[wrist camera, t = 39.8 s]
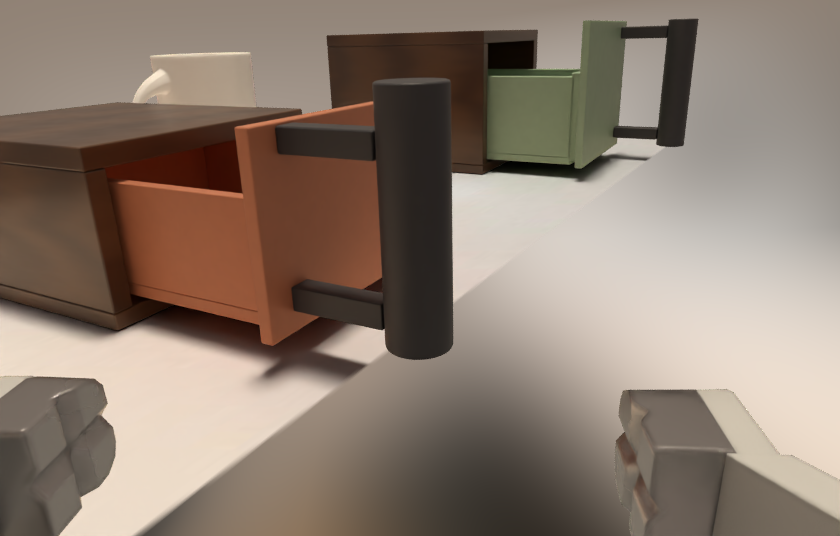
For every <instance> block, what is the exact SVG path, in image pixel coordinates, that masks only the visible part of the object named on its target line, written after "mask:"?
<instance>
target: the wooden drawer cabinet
mask: <svg viewBox="0 0 840 536" xmlns="http://www.w3.org/2000/svg"><path fill="white" fill-rule="evenodd" d="M537 34H538V30H498V31H458V32H425V33H393V34H360V35H330V36H329V35H327V46H328V60H329V74H330V87H331V101H332V109H334V108H340V107H345V106H350V105H356V104H361V103H366V102H372V101H373V89H372V84H373V82H374V81H377V80H384V79H397V78H446V79H449V80H450V81H451V152H452V172H462V173H474V174H484V173H486V172H488V171H490V170H492V169H494V168H496V167H498V166H500V165H502V164H504V163H506V162H508V160H493V159H487V81H488V69H536V62H537Z"/></svg>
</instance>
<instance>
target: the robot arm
mask: <svg viewBox="0 0 840 536" xmlns="http://www.w3.org/2000/svg"><path fill="white" fill-rule="evenodd" d="M107 404H108V403H107V399H106V396H105V392H104V388H103V385H102V384H100V383H99V382H98V381H96V380H95V379H87V378H62V377H33V376H3V377H0V536H59V535H60V533H61V532H62V531H63V530H64V529H65V527H66V526H67V525H68V524H69V523H70V521H71V520H72V519H73V518H74V517H75V515H76V514H77V513H78V512H79V511H80V509H81V508H82V504H81V497H82V496H83V495H85V494H87V493H89V492H91V491H93V490H94V489H96V488H98V487H99V486H100V485H101V484H102V482H103V481H104V480H105V479H106V477H107V476H108V475H109V473H110V470H111V467H112V464H113V461H114V458H115V449H116V440H115V435H114V430H113V427H112V426H111V425H110V424H109V423H108V422H107V421H106V420H105V419H104V418H103V417H102V416H101V414H102V413H103V411H104V409H105V407H106V405H107ZM619 418H620V420H621V423H622V426H623V428H624V431H625V432H624V433H623V434H622V435H621V436H620V437H619V438H618V439H617V440H616V447H615V479H616V484H617V490H618V494H619V497H620V500H621V504H622V505H623V506H624V507H625V508H627V509H628V510H629V511H630V512H631V514H630V524H629V529H630V531H631V535H632V536H840V480H839V479H837V478H835V477H833V476H831V475H829V474H827V473H826V472H824V471H822V470H820V469H818V468H816V467H814V466H812V465H810V464H808V463H806V462H804V461H802V460H800V459H798V458H797V457H795V456H792V455H780V453H779V452H778V451H777V449H776V448H775V447H774V445H773V444H772V443H771V442H770V440H769V439H768V438H767V436H766V435H765V434H764V432H763V431H762V430H761V428H760V427H759V426H758V424H757V423H756V422H755V420H754V419H753V418H752V416H751V415H750V414H749V412H748V411H747V410H746V408H745V407H744V406H743V404H742V403H741V402H740V400H739V399H738V398H737V396H736V395H735V394H734V392H732V391H730V390H727V389H715V390H624V391H623V392H622V396H621V399H620V407H619Z"/></svg>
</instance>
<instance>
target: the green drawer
mask: <svg viewBox="0 0 840 536" xmlns="http://www.w3.org/2000/svg"><path fill="white" fill-rule="evenodd" d="M626 25H627V22H626V21H583V32H582V49H581V67H580V69H488V81H487V159H493V160H508V161H522V162H537V163H551V164H566V165H570V164H572V163H573V162H575V168H583V167H584V166H586V165H587V164H588V163H590V162H591V161H593V160H594V159H595V158H597V157H598V156H600V155H601V154H602V153H604V152H605V151H607V150H608V149H609V148H611V147H612V146H614V145H615V144H616V143H617V138H636V139H657V142H656V144H657V145H659V146H665V147H678V146H683V145H684V137H685V128H686V120H687V111H688V103H689V95H690V86H691V77H692V69H693V60H694V52H695V44H696V35H697V26H698V19H673V20H669V25H668V26H642V27H626ZM629 38H667V45H666V54H665V64H664V74H663V84H662V93H661V104H660V113H659V124H658V127H657V128H656V127H631V126H618V123H619V111H620V99H621V87H622V75H623V63H624V50H625V39H629Z"/></svg>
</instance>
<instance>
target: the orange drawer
mask: <svg viewBox="0 0 840 536" xmlns="http://www.w3.org/2000/svg"><path fill="white" fill-rule="evenodd" d="M372 89H373V101H372V102H366V103H361V104H356V105H350V106H345V107H340V108H334V109H329V110H323V111H318V112H313V113H307V114H302V115H297V116H291V117H286V118H280V119H275V120H270V121H264V122H259V123H253V124H248V125H243V126H237V127H235V129H234V130H235V137H236V140H235V141H230V142H225V143H221V144H216V145H211V146H206V147H202V148H197V149H192V150H188V151H183V152H178V153H173V154H169V155H164V156H159V157H154V158H150V159H145V160H140V161H135V162H131V163H126V164H121V165H116V166H112V167H107V168H103V169H105V170H106V175H107V180H108V185H109V190H110V195H111V200H112V205H113V210H114V215H115V220H116V225H117V230H118V235H119V240H120V245H121V250H122V255H123V260H124V265H125V270H126V275H127V280H128V285H129V289H130V294H133V295H137V296H141V297H145V298H149V299H153V300H158V301H162V302H166V303H170V304H174V305H179V306H183V307H187V308H191V309H195V310H200V311H204V312H208V313H212V314H216V315H221V316H225V317H229V318H233V319H237V320H241V321H246V322H250V323H254V324H258V325H259V327H260V335H261V342H262V343H264V344H268V345H272V346H273V345H275V344H277V343H278V342H280V341H282V340H283V339H285V338H286V337H288V336H289V335H291V334H293V333H294V332H296V331H297V330H299V329H301V328H302V327H304V326H305V325H307V324H309V323H310V322H312V321H313V320H315V319H316V318H318V317H324V318H328V319H333V320H337V321H342V322H346V323H351V324H356V325H360V326H365V327H369V328H374V329H378V330H383V329H385V344H386V347H387V349H388V351H389V352H390V353H392V354H394V355H396V356H398V357H401V358H405V359H412V360H422V359H431V358H435V357H438V356H441V355H443V354H445V353H447V352H448V351H449V350H450V349H451V347H452V345H453V261H452V152H451V81H450V80H449V79H446V78H397V79H384V80H377V81H374V82H373V84H372ZM380 278H382V285H383V293H379V292H374V291H369V290H363V289H364V288H366V287H367V286H369V285H370V284H372V283H374V282H375V281H377V280H378V279H380Z"/></svg>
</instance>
